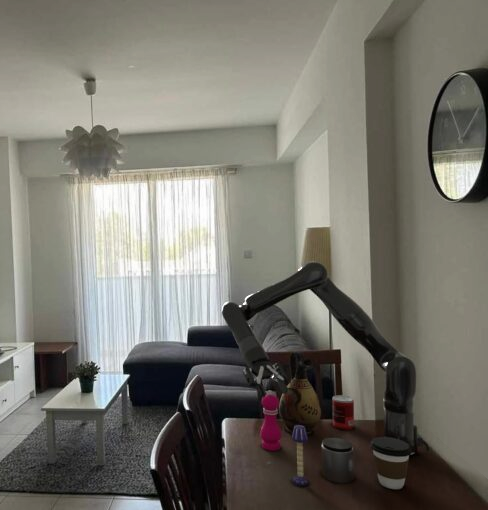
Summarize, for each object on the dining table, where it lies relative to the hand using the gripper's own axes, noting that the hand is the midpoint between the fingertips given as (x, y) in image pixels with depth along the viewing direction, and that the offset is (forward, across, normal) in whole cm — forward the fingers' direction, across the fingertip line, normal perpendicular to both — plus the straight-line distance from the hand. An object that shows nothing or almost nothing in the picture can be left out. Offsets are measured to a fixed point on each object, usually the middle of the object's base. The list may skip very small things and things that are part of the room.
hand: (275, 394), depth 148 cm
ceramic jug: (+2, +28, +32) cm, 42 cm away
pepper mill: (+7, +8, +26) cm, 28 cm away
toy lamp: (+24, 0, +9) cm, 26 cm away
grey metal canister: (+26, +13, +7) cm, 29 cm away
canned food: (+5, +46, +28) cm, 54 cm away
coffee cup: (+33, +23, 0) cm, 40 cm away
